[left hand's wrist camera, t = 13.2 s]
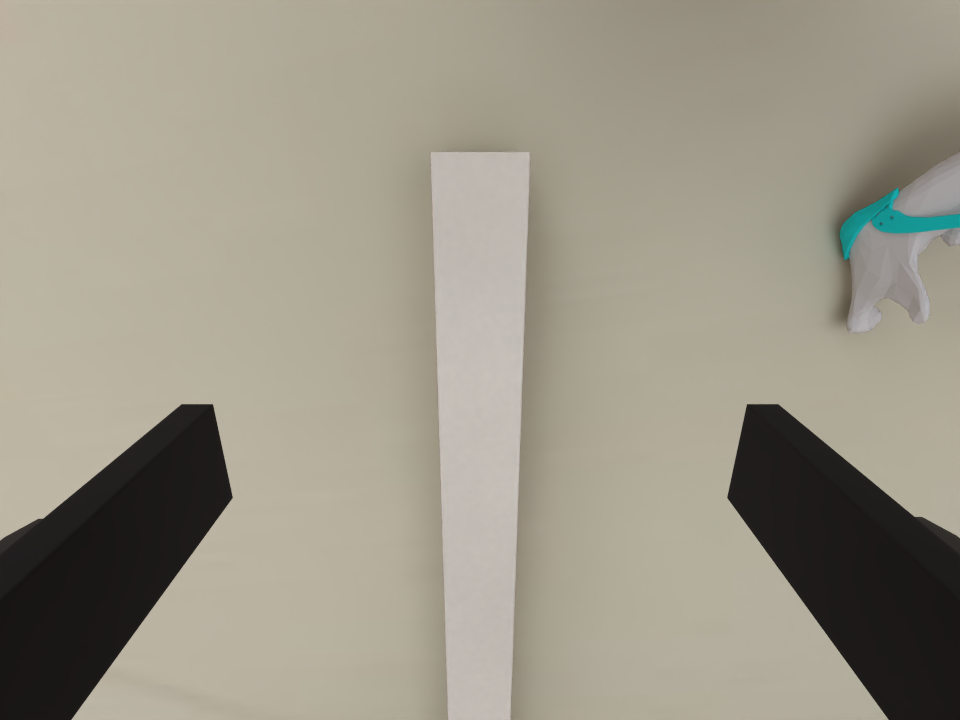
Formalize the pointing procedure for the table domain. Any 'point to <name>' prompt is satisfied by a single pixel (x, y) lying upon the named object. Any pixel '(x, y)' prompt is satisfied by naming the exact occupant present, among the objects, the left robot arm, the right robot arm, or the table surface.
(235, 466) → the table surface
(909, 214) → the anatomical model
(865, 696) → the table surface
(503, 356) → the bar
